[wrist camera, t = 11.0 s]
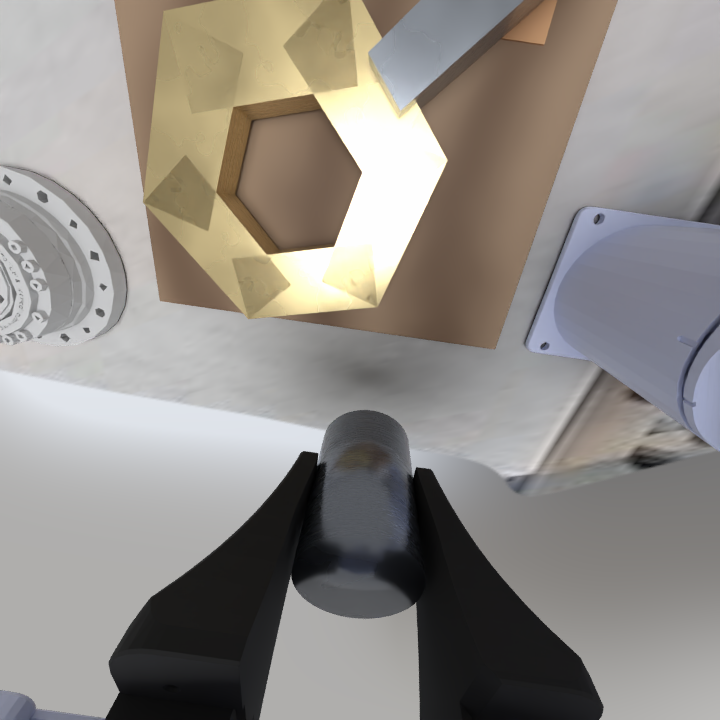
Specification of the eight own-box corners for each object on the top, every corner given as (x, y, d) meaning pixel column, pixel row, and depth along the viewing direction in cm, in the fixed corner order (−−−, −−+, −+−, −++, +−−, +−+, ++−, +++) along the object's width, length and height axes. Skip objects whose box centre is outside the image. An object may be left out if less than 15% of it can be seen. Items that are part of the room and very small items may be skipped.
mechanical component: (79, 152, 16) (-81, 181, 17) (-15, 134, 12) (-216, 172, 13) (156, 330, 21) (23, 344, 22) (103, 358, 17) (-57, 375, 18)
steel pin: (416, 417, 14) (440, 549, 8) (399, 482, 16) (410, 626, 10) (327, 404, 14) (294, 528, 8) (320, 470, 16) (289, 609, 10)
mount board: (614, -24, 12) (634, -45, 11) (489, 342, 19) (495, 350, 18) (116, -100, 12) (93, -126, 11) (170, 296, 19) (158, 301, 18)
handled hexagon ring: (299, 351, 19) (286, 375, 16) (114, 139, 15) (54, 123, 12) (652, 104, 13) (722, 77, 10) (511, -368, 9) (570, -624, 6)
